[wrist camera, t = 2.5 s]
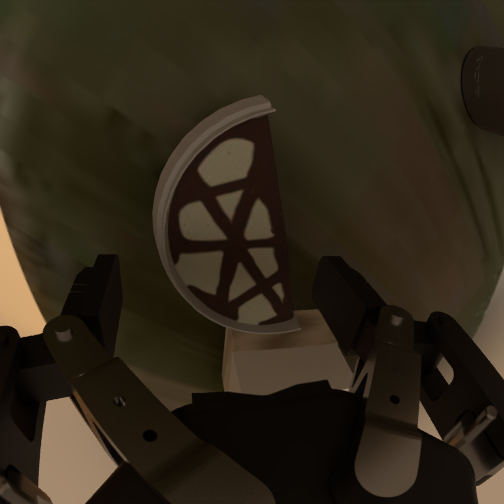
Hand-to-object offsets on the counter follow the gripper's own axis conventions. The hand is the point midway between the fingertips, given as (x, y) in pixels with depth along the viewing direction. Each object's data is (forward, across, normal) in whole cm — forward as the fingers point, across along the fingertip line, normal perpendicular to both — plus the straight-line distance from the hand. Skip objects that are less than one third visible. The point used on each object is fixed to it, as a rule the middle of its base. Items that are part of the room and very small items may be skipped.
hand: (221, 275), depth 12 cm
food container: (+12, 0, 0) cm, 12 cm away
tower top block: (+7, -7, +16) cm, 19 cm away
